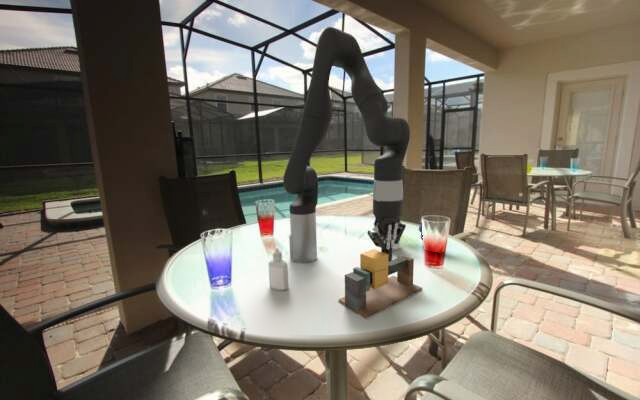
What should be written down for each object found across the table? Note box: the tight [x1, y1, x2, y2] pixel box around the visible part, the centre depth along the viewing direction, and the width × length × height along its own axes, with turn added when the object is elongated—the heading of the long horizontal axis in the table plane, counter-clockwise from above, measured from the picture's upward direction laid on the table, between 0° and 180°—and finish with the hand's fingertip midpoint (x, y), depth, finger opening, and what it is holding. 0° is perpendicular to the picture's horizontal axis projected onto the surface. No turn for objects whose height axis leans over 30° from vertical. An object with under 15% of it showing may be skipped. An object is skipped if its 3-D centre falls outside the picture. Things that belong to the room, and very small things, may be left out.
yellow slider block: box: [359, 249, 389, 289], centre depth 76 cm, size 5×5×8 cm
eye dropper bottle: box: [268, 247, 290, 291], centre depth 84 cm, size 4×6×12 cm
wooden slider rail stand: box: [338, 254, 423, 319], centre depth 78 cm, size 22×10×9 cm, turn 127°
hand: (386, 260), depth 79 cm, fingers closed
